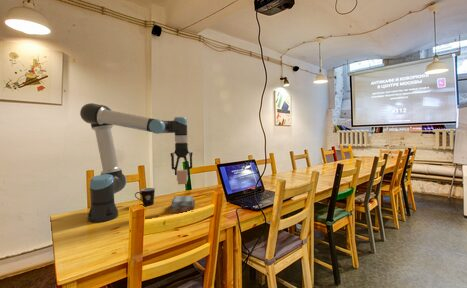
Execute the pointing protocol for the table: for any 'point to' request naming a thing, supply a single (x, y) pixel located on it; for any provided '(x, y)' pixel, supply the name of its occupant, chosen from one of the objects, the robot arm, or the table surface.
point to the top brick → (182, 177)
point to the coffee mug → (147, 196)
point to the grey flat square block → (182, 204)
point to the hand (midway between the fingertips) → (182, 180)
